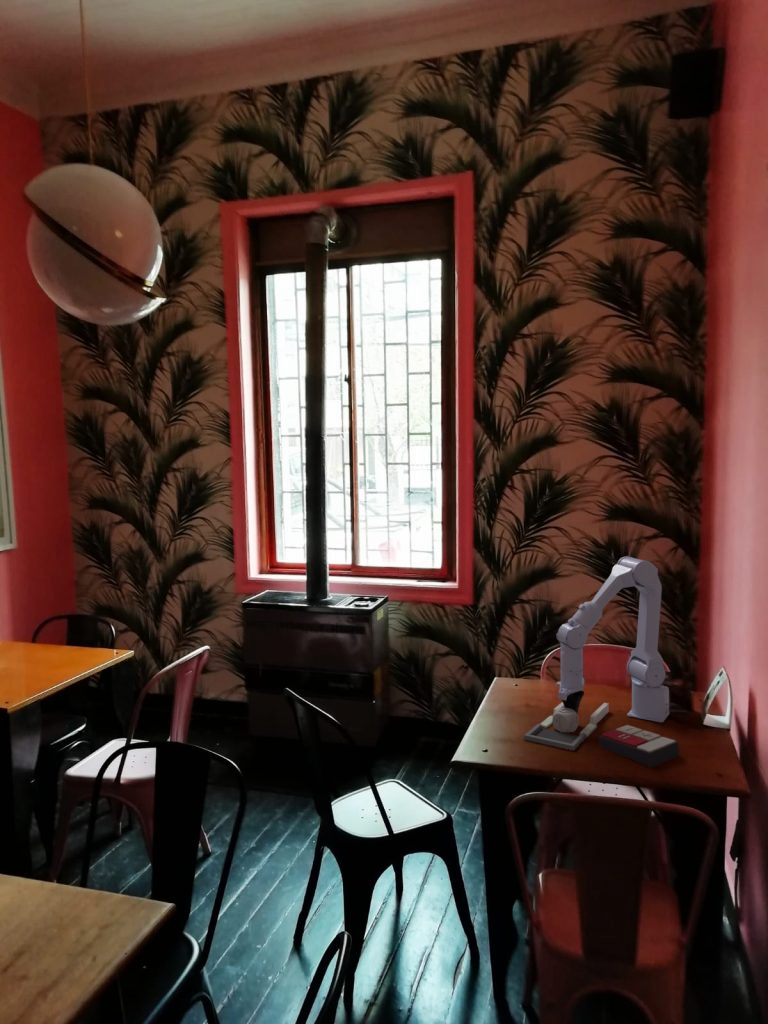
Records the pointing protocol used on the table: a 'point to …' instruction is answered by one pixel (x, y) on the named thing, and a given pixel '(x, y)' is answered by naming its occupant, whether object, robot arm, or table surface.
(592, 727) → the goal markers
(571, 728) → the die
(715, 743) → the table surface
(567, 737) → the tray
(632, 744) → the calculator
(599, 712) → the white guide rails
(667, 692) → the robot arm
